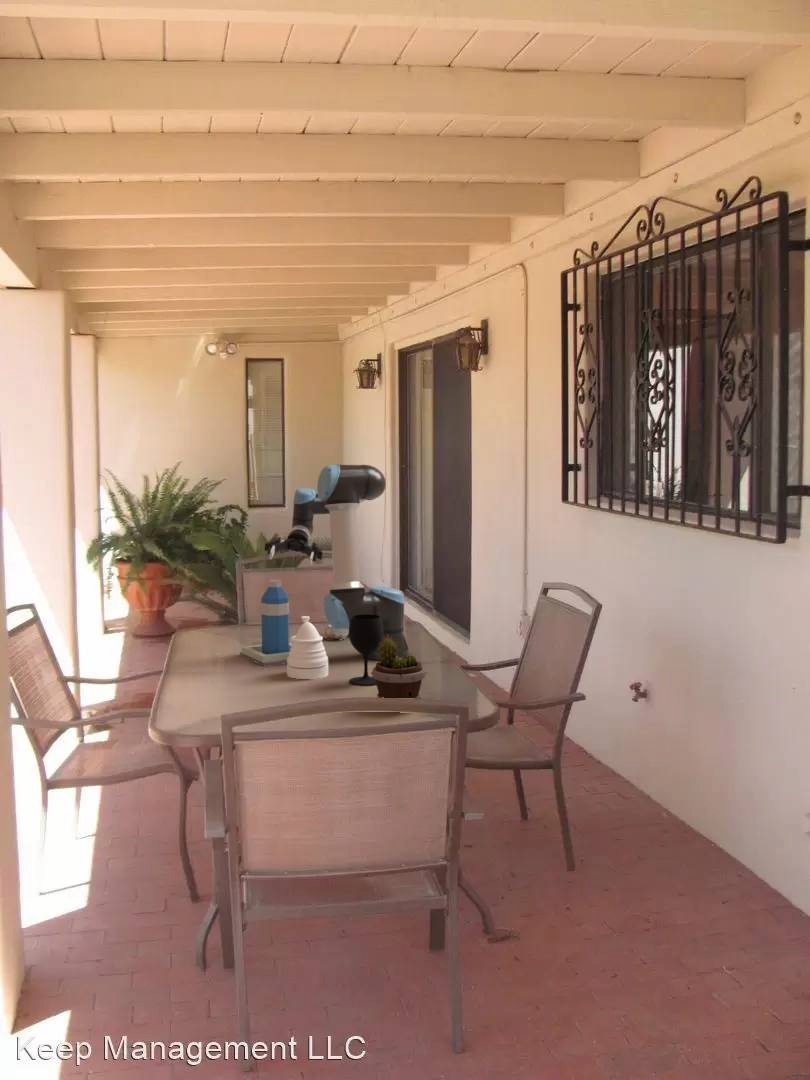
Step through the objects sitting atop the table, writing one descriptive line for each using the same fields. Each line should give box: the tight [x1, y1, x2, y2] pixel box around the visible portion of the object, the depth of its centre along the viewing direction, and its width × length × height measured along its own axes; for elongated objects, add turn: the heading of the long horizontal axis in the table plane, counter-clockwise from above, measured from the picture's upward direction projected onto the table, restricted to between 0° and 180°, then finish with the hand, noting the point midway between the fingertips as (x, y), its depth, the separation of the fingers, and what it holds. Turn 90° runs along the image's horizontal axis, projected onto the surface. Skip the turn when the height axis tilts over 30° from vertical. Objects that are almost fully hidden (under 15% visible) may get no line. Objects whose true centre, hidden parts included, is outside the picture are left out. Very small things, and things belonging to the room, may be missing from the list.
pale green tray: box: [239, 642, 293, 667], centre depth 347 cm, size 20×17×3 cm
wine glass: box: [348, 614, 383, 687], centre depth 314 cm, size 10×10×20 cm
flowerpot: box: [370, 636, 428, 700], centre depth 288 cm, size 14×15×20 cm
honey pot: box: [286, 615, 329, 680], centre depth 323 cm, size 13×13×18 cm
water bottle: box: [260, 579, 290, 655], centre depth 346 cm, size 9×9×25 cm
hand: (290, 559), depth 354 cm, fingers open, 13 cm apart
